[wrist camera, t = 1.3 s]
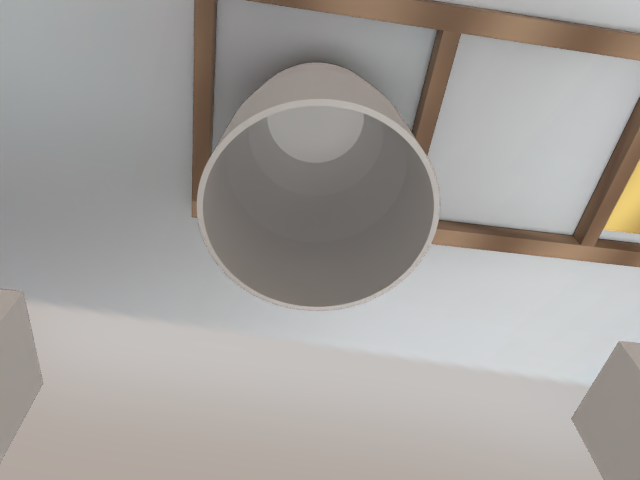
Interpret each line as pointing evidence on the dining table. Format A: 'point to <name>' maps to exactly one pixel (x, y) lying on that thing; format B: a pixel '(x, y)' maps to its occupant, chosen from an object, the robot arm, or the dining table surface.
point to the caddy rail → (450, 20)
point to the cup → (318, 192)
